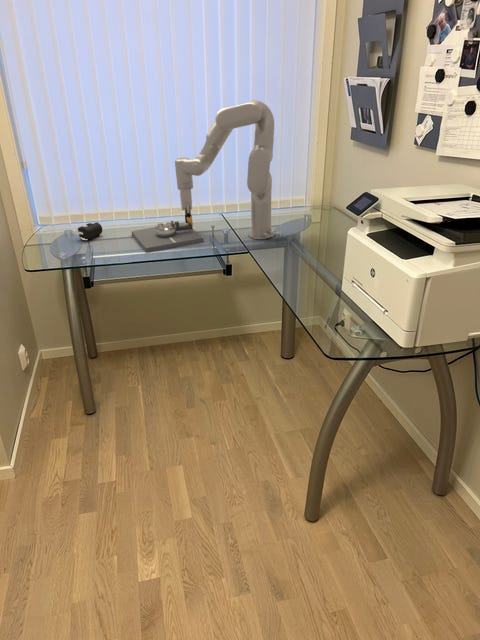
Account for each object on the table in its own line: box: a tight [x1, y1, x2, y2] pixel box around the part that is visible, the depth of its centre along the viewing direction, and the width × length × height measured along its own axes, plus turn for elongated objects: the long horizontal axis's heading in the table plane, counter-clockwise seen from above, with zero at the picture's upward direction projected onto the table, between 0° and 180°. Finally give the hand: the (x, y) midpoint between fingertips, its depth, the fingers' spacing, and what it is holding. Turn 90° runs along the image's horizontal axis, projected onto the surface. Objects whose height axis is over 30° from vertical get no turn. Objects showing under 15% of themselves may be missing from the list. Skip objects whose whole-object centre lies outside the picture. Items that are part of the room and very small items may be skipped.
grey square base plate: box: [131, 221, 204, 253], centre depth 230 cm, size 28×28×2 cm
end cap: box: [77, 221, 103, 240], centre depth 233 cm, size 10×7×7 cm
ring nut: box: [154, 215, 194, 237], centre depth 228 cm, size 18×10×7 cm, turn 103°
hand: (188, 222), depth 233 cm, fingers closed
